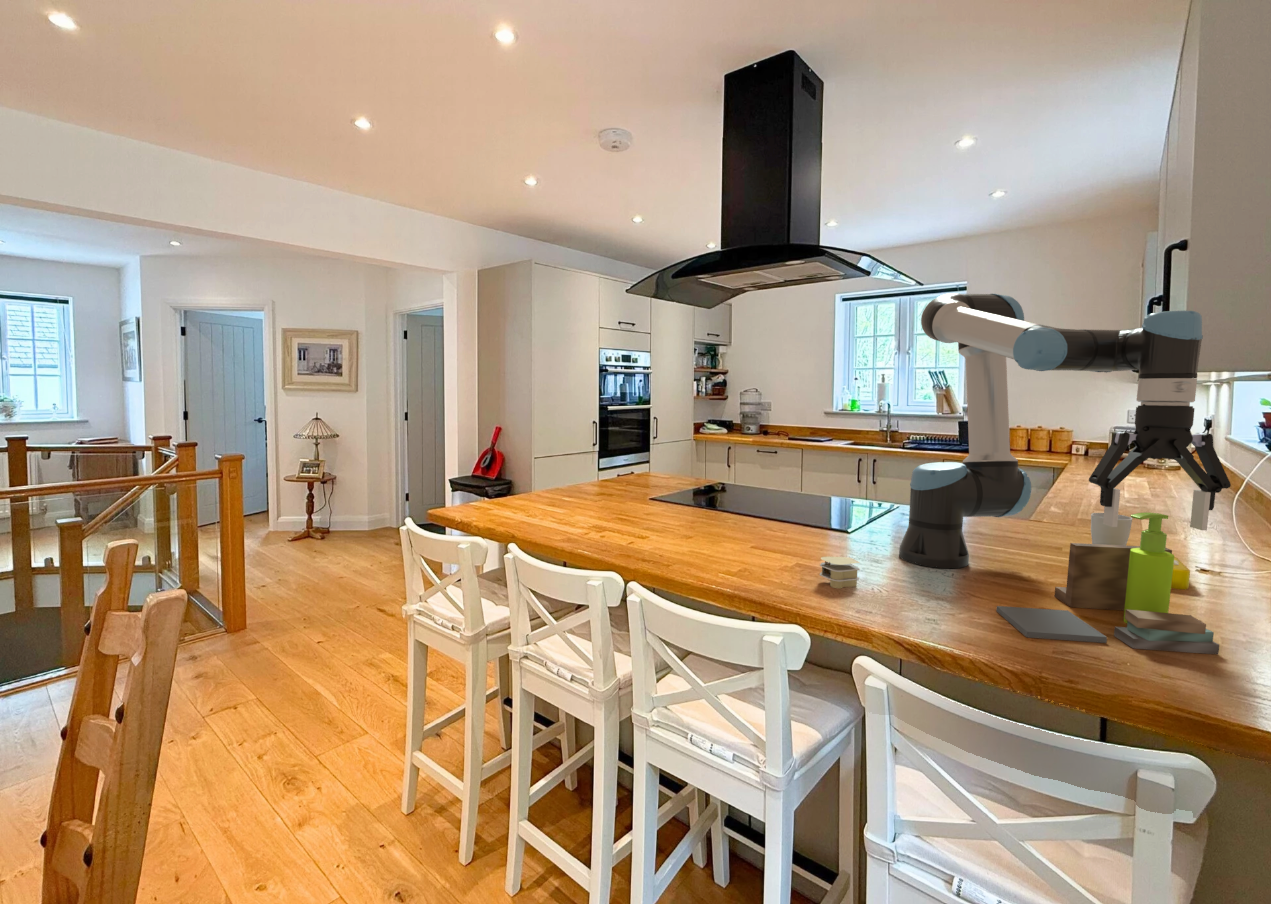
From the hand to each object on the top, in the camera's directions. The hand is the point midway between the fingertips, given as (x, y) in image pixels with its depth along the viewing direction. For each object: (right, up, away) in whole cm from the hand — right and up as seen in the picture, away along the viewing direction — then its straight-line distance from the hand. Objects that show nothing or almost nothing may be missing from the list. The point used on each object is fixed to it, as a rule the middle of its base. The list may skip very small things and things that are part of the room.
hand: (1153, 527), depth 105 cm
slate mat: (-18, -17, +1) cm, 25 cm away
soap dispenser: (0, -18, +2) cm, 18 cm away
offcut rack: (0, -18, +2) cm, 18 cm away
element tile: (+23, -15, +31) cm, 41 cm away
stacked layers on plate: (-47, -15, +23) cm, 55 cm away
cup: (+29, -13, +47) cm, 56 cm away
